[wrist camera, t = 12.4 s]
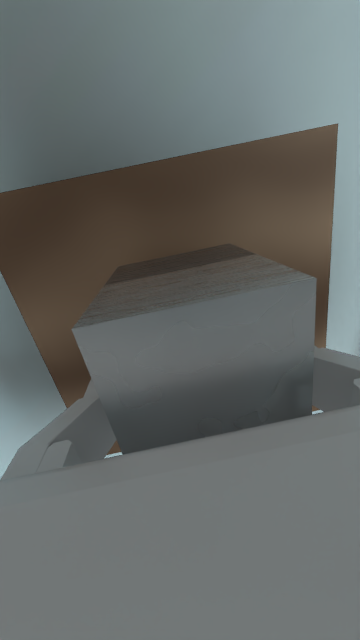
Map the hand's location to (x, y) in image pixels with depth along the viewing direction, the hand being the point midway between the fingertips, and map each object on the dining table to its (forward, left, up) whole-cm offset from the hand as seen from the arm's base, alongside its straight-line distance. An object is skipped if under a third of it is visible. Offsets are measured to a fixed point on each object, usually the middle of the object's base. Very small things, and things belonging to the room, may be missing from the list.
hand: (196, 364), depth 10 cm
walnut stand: (0, 0, -8) cm, 8 cm away
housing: (0, 0, -2) cm, 2 cm away
